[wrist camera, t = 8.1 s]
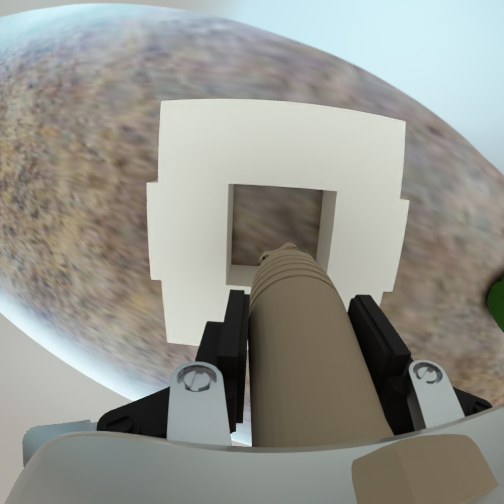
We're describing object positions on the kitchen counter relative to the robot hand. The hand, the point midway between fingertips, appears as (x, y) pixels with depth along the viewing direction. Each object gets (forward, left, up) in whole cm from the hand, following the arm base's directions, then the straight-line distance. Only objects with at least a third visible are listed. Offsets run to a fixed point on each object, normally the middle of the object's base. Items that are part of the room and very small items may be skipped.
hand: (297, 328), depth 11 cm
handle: (0, 0, -6) cm, 6 cm away
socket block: (0, 0, -18) cm, 18 cm away
